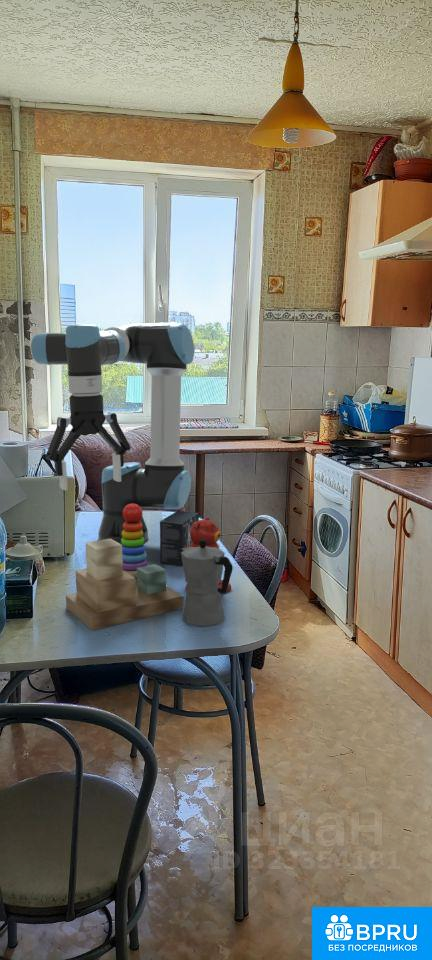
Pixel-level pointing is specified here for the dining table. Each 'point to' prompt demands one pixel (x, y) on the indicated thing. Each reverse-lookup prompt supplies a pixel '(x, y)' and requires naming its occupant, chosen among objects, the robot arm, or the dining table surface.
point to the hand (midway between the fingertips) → (91, 485)
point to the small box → (175, 536)
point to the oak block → (104, 559)
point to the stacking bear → (207, 532)
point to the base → (128, 611)
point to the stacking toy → (133, 540)
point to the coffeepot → (204, 584)
